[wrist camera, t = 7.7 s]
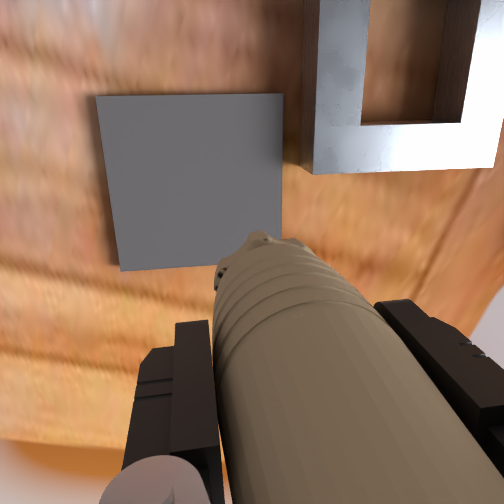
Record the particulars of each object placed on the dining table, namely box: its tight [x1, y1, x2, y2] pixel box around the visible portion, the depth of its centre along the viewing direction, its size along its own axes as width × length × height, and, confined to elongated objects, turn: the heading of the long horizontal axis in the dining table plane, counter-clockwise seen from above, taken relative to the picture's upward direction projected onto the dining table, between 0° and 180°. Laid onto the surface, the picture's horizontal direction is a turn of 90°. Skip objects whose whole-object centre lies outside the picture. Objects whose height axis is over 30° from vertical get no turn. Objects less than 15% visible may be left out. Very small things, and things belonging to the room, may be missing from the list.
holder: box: [299, 0, 504, 175], centre depth 27 cm, size 14×13×4 cm
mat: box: [95, 93, 283, 272], centre depth 29 cm, size 12×12×1 cm
